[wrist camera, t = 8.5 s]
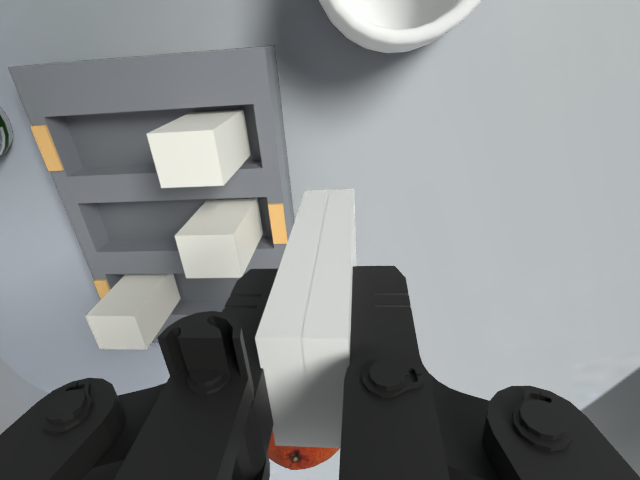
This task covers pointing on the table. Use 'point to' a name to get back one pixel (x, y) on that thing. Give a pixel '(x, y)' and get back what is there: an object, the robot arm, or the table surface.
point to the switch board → (138, 165)
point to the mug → (396, 21)
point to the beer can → (4, 133)
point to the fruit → (298, 455)
